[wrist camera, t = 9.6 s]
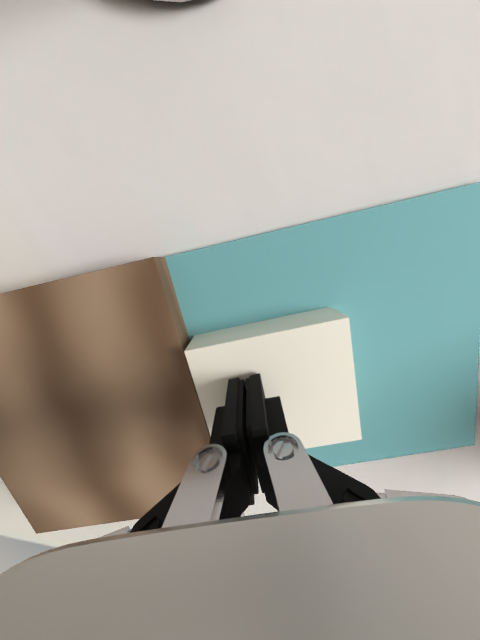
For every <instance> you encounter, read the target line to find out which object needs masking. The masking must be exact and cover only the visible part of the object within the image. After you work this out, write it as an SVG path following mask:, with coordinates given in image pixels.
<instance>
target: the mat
mask: <svg viewBox="0 0 480 640" xmlns="http://www.w3.org/2000/svg"><path fill="white" fill-rule="evenodd" d="M165 259H166V262H167V266H168V269H169V272H170V276H171V279H172V282H173V286H174V289H175V292H176V296H177V299H178V302H179V306H180V309H181V312H182V316H183V319H184V323H185V326H186V329H187V333H188V336H189V339H190V342H191V340H192V338H193V337H194V335H198V334H203V333H207V332H212V331H217V330H222V329H226V328H231V327H236V326H241V325H245V324H250V323H255V322H260V321H264V320H269V319H274V318H279V317H283V316H288V315H293V314H298V313H302V312H307V311H312V310H317V309H321V308H326V307H332V308H334V309H336V310H337V311H339V312H341V313H342V314H344V315H346V316H347V317H349V322H350V331H351V341H352V350H353V360H354V369H355V378H356V388H357V397H358V407H359V416H360V426H361V435H362V440H356V441H350V442H343V443H337V444H331V445H325V446H319V447H313V448H307V449H305V450H306V452H307V454H309V455H310V456H312V457H314V458H316V459H318V460H320V461H322V462H324V463H326V464H327V465H329V466H331V467H334V466H340V465H347V464H353V463H360V462H366V461H373V460H380V459H386V458H393V457H399V456H406V455H412V454H419V453H425V452H432V451H438V450H445V449H451V448H458V447H464V446H471V445H474V441H475V422H476V403H477V384H478V366H479V347H480V182H478V183H474V184H470V185H465V186H461V187H457V188H453V189H449V190H444V191H440V192H436V193H432V194H428V195H423V196H419V197H415V198H411V199H407V200H402V201H398V202H394V203H390V204H386V205H381V206H377V207H373V208H369V209H365V210H360V211H356V212H352V213H348V214H344V215H339V216H335V217H331V218H327V219H323V220H318V221H314V222H310V223H306V224H302V225H297V226H293V227H289V228H285V229H281V230H276V231H272V232H268V233H264V234H260V235H255V236H251V237H247V238H243V239H239V240H234V241H230V242H226V243H222V244H218V245H213V246H209V247H205V248H201V249H197V250H192V251H188V252H184V253H180V254H176V255H171V256H167V257H165Z"/></svg>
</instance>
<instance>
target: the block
mask: <svg viewBox="0 0 480 640" xmlns="http://www.w3.org/2000/svg"><path fill="white" fill-rule="evenodd" d="M184 352H185V356H186V359H187V362H188V365H189V368H190V372H191V375H192V378H193V381H194V384H195V388H196V391H197V394H198V397H199V400H200V404H201V407H202V410H203V413H204V416H205V420H206V423H207V426H208V429H209V432H210V436H211V432H212V427H213V422H214V416H215V411H216V408H217V407H221V406H225V400H226V392H227V385H228V379H232V378H238V377H239V379H240V380H242V379H243V380H244V384H245V388H246V379H247V378H250V375H254V374H259V373H260V376H261V380H262V385H263V389H264V394H265V398H271V397H276V396H280V400H281V404H282V408H283V412H284V416H285V420H286V424H287V428H288V432H289V433H291V434H294V435H295V436H297V437H298V438H299V439H300V440H301V442H302V444H303V446H304V448H305V449H307V448H313V447H319V446H325V445H331V444H337V443H343V442H350V441H356V440H362V435H361V426H360V416H359V407H358V397H357V388H356V378H355V369H354V360H353V350H352V341H351V331H350V322H349V317H347V316H346V315H344V314H342V313H341V312H339V311H337V310H336V309H334V308H332V307H326V308H321V309H317V310H312V311H307V312H302V313H298V314H293V315H288V316H283V317H279V318H274V319H269V320H264V321H260V322H255V323H250V324H245V325H241V326H236V327H231V328H226V329H222V330H217V331H212V332H207V333H203V334H198V335H194V337H193V338H192V340H191V342H190V343H189V345H188V346H187V348H186V349H185V351H184Z"/></svg>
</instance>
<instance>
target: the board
mask: <svg viewBox="0 0 480 640" xmlns="http://www.w3.org/2000/svg"><path fill="white" fill-rule="evenodd" d="M189 343H190V339H189V336H188V333H187V329H186V326H185V323H184V319H183V316H182V312H181V309H180V306H179V302H178V299H177V296H176V292H175V289H174V286H173V282H172V279H171V276H170V272H169V269H168V266H167V262H166V259H165V257H152V258H148V259H144V260H140V261H135V262H131V263H127V264H123V265H119V266H115V267H110V268H106V269H102V270H98V271H94V272H89V273H85V274H81V275H77V276H73V277H69V278H64V279H60V280H56V281H52V282H48V283H44V284H39V285H35V286H31V287H27V288H23V289H18V290H14V291H10V292H6V293H2V294H0V477H1V478H2V480H3V481H4V483H5V485H6V486H7V488H8V489H9V491H10V492H11V494H12V496H13V497H14V499H15V500H16V502H17V504H18V505H19V507H20V508H21V510H22V512H23V513H24V515H25V516H26V518H27V519H28V521H29V523H30V524H31V526H32V527H33V529H34V531H35V532H36V533H43V532H50V531H57V530H64V529H71V528H77V527H84V526H91V525H98V524H105V523H112V522H119V521H126V520H133V519H140V518H141V517H142V516H144V515H145V514H146V513H147V512H148V511H149V510H150V509H151V508H153V507H154V506H155V505H156V504H157V503H158V502H159V501H160V500H161V499H163V498H164V497H165V496H166V495H167V494H168V493H169V492H170V491H172V490H173V489H174V488H175V487H176V486H177V485H178V484H179V483H180V482H181V481H182V479H183V476H184V474H185V472H186V469H187V467H188V465H189V462H190V460H191V458H192V456H193V455H194V454H195V453H196V452H197V451H198V450H199V449H200V448H202V447H204V446H206V445H209V442H210V437H211V436H210V432H209V429H208V426H207V423H206V420H205V416H204V413H203V410H202V407H201V404H200V400H199V397H198V394H197V391H196V388H195V384H194V381H193V378H192V375H191V372H190V368H189V365H188V362H187V359H186V356H185V352H184V351H185V349H186V348H187V346H188V345H189Z"/></svg>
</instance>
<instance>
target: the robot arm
mask: <svg viewBox="0 0 480 640" xmlns="http://www.w3.org/2000/svg"><path fill="white" fill-rule="evenodd" d="M155 1H171V2H185V1H190V0H155ZM258 479H259V483H260V486H261V490H262V493H265V496H266V500H267V502H268V503H269V504H270V505H272V506H273V507H274V508H275V509H277V510H278V512H272V513H265V514H257V515H250V516H245V514H244V511H245V510H246V508H247V507H248V506H249V505H254V494H258V492H259V491H258ZM0 640H480V502H477V501H472V500H468V499H466V498H464V497H460V496H455V495H446V494H434V493H422V492H410V491H398V490H386V489H385V493H376V492H375V491H374V490H373V489H371V488H370V487H368V486H367V485H365V484H363V483H361V482H359V481H358V480H356V479H354V478H352V477H350V476H348V475H346V474H344V473H342V472H341V471H339V470H337V469H335V468H333V467H331V466H329V465H327V464H326V463H324V462H322V461H320V460H318V459H316V458H314V457H312V456H310V455H309V454H307V452H306V450H305V448H304V446H303V444H302V442H301V440H300V439H299V438H298V437H297V436H295V435H294V434H291V433H289V432H288V428H287V424H286V420H285V416H284V412H283V408H282V404H281V400H280V396H276V397H271V398H265V394H264V389H263V385H262V380H261V376H260V373H259V374H254V375H250V378H247V379H246V388H245V384H244V380H243V379H242V380H240V379H239V377H238V378H232V379H228V385H227V392H226V400H225V406H221V407H217V408H216V411H215V416H214V422H213V427H212V432H211V437H210V442H209V445H206V446H204V447H202V448H200V449H199V450H198V451H197V452H196V453H195V454H194V455H193V456H192V458H191V460H190V462H189V465H188V467H187V469H186V472H185V474H184V476H183V479H182V481H181V482H180V483H179V484H178V485H177V486H176V487H175V488H174V489H173V490H172V491H170V492H169V493H168V494H167V495H166V496H165V497H164V498H163V499H161V500H160V501H159V502H158V503H157V504H156V505H155V506H154V507H153V508H151V509H150V510H149V511H148V512H147V513H146V514H145V515H144V516H142V517H141V518H140V519H139V520H138V522H137V523H136V524H135V525H134V526H133V528H132V529H130V528H129V526H127V527H125V528H122V529H120V530H117V531H114V532H112V533H109V534H107V535H104V536H102V537H99V538H96V539H90V540H86V541H81V542H76V543H72V544H67V545H64V546H61V547H57V548H54V549H51V550H48V551H45V552H43V553H40V554H38V555H35V556H33V557H30V558H28V559H27V560H25V561H23V562H21V563H19V564H17V565H15V566H13V567H11V568H9V569H8V570H6V571H5V572H3V573H1V574H0Z"/></svg>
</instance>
